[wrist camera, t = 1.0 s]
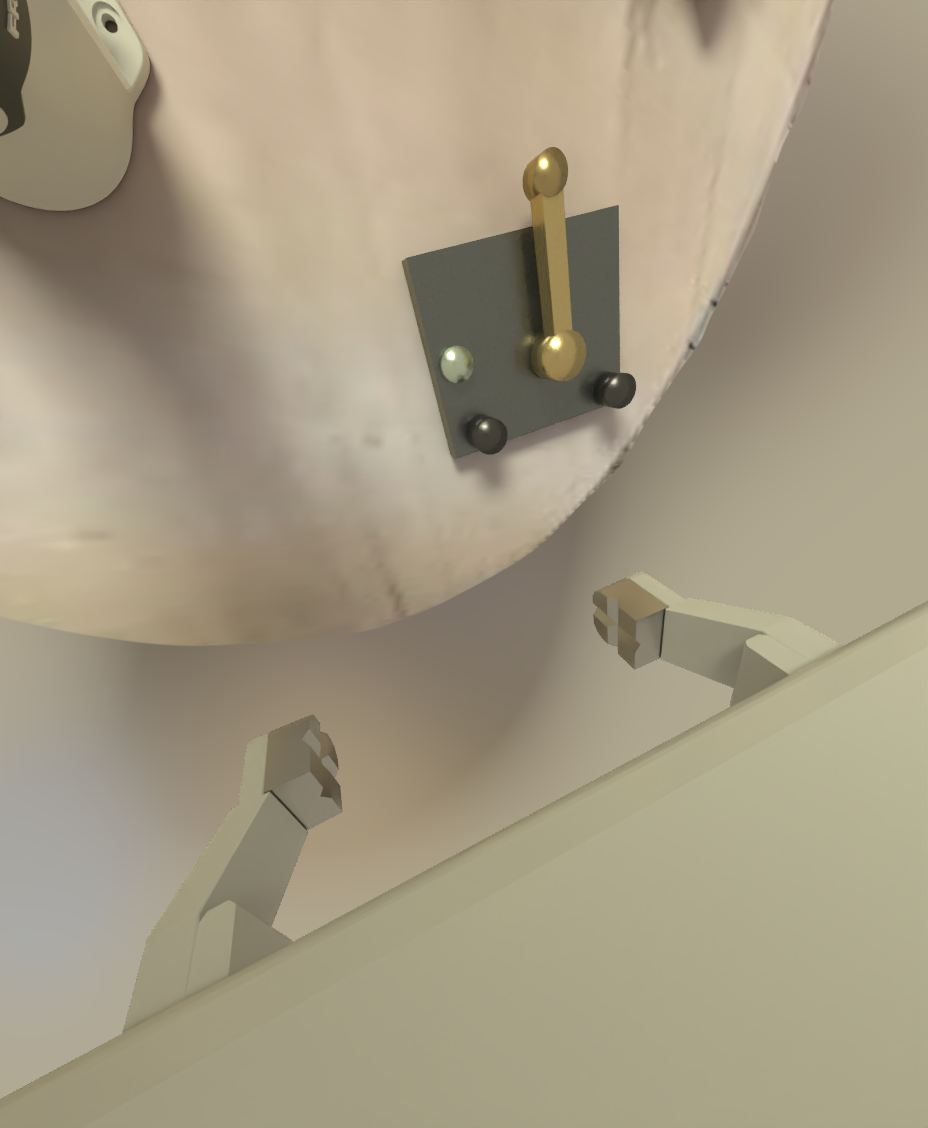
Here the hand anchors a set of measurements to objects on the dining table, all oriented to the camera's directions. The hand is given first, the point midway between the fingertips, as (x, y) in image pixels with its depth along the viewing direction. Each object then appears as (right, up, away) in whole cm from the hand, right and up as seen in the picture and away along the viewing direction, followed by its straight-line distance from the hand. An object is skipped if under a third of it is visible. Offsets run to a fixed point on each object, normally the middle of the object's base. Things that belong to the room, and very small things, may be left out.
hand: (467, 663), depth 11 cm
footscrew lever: (+8, +33, +32) cm, 46 cm away
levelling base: (+7, +29, +36) cm, 47 cm away
